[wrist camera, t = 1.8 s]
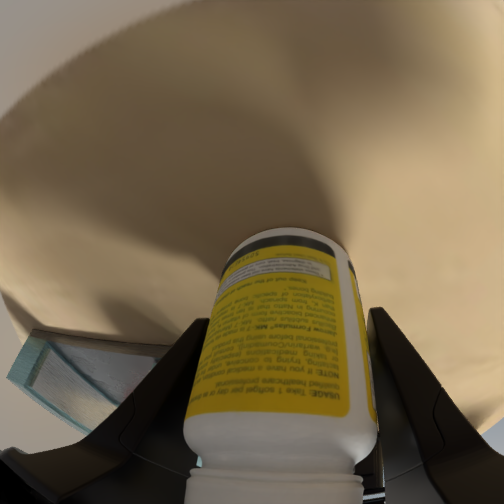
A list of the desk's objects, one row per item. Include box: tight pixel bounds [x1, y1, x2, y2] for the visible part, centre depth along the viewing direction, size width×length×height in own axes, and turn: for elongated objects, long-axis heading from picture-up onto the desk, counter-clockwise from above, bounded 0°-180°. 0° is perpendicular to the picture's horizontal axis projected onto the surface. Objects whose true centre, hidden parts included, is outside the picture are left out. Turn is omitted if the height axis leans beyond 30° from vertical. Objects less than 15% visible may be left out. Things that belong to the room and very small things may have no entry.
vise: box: [6, 329, 172, 435], centre depth 16 cm, size 25×11×5 cm, turn 102°
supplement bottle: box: [183, 227, 377, 504], centre depth 7 cm, size 5×5×8 cm
